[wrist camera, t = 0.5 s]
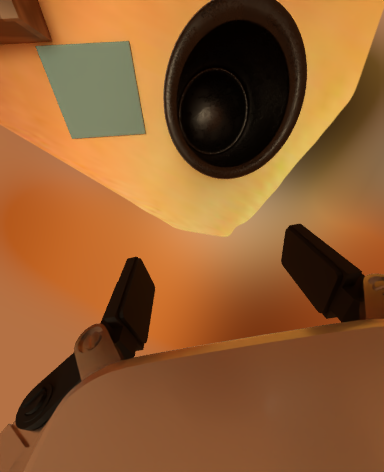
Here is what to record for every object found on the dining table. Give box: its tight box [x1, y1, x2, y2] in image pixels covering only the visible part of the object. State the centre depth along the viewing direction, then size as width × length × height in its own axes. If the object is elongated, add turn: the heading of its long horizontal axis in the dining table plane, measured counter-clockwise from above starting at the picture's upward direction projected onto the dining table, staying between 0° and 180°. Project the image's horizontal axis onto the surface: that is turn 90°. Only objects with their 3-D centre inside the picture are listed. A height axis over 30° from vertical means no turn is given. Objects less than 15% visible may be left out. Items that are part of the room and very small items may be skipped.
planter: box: [163, 0, 307, 179], centre depth 24 cm, size 16×16×16 cm
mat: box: [36, 41, 146, 139], centre depth 28 cm, size 12×14×1 cm
